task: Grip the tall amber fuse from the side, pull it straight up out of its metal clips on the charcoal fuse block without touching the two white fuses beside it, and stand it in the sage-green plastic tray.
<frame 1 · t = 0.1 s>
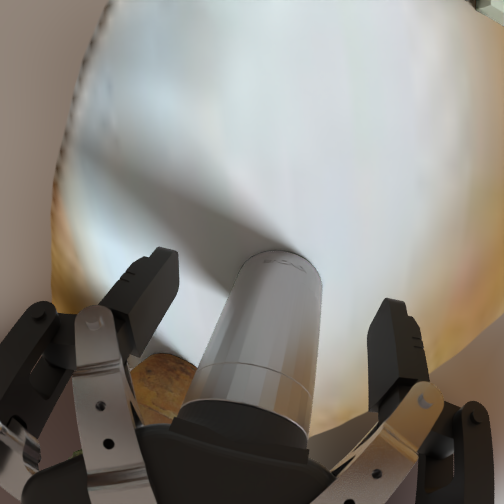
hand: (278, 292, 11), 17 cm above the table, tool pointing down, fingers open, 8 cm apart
potted plant: (177, 374, 48), on the table
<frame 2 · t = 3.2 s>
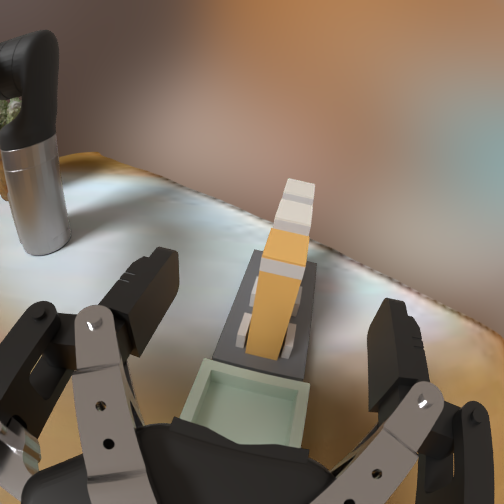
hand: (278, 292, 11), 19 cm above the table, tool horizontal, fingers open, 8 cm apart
fuse block: (271, 314, 36), on the table
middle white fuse: (274, 302, 35), point 2 cm above the table, touching fuse block
potted plant: (22, 191, 56), on the table
end white fuse: (282, 271, 40), point 2 cm above the table, touching fuse block
tray: (240, 430, 24), on the table
amber fuse: (264, 341, 30), point 2 cm above the table, touching fuse block
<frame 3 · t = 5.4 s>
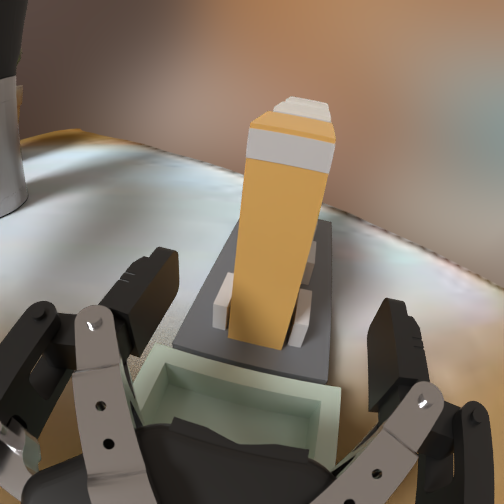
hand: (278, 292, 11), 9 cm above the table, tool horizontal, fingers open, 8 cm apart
fuse block: (271, 285, 25), on the table
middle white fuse: (275, 265, 24), point 2 cm above the table, touching fuse block
tray: (218, 471, 12), on the table
amber fuse: (261, 320, 19), point 2 cm above the table, touching fuse block
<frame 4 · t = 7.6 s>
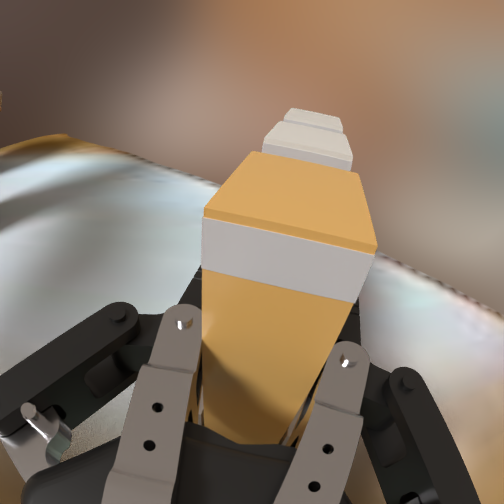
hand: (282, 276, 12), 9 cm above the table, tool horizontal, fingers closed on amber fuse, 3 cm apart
fuse block: (264, 350, 20), on the table
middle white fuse: (268, 331, 19), point 2 cm above the table, touching fuse block
end white fuse: (282, 273, 24), point 2 cm above the table, touching fuse block
amber fuse: (247, 414, 14), point 2 cm above the table, touching fuse block, gripper
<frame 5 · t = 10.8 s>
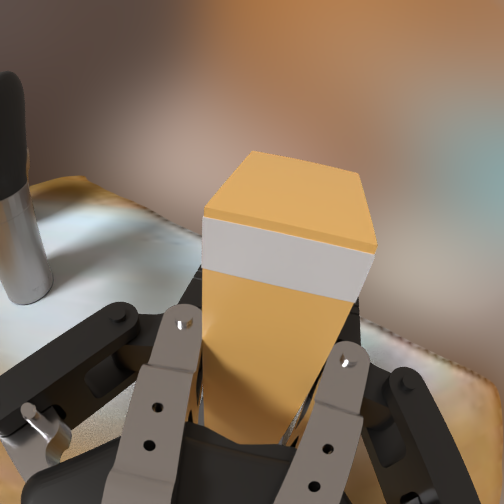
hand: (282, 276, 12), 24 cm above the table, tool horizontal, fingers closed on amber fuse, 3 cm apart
amber fuse: (247, 414, 14), point 17 cm above the table, touching gripper
when the fingers open (10 cm above the table, at t = 14.0 s): amber fuse drops 3 cm, resting on tray.
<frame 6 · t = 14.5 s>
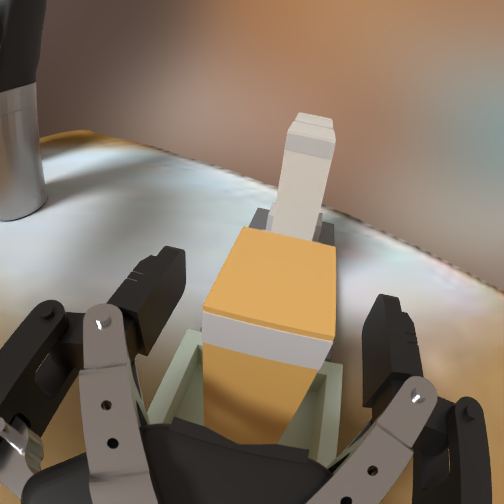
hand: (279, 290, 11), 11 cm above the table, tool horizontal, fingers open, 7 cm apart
fuse block: (281, 280, 28), on the table
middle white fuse: (285, 263, 27), point 2 cm above the table, touching fuse block
end white fuse: (292, 230, 32), point 2 cm above the table, touching fuse block
tray: (241, 437, 16), on the table
amber fuse: (242, 431, 15), point 1 cm above the table, touching tray
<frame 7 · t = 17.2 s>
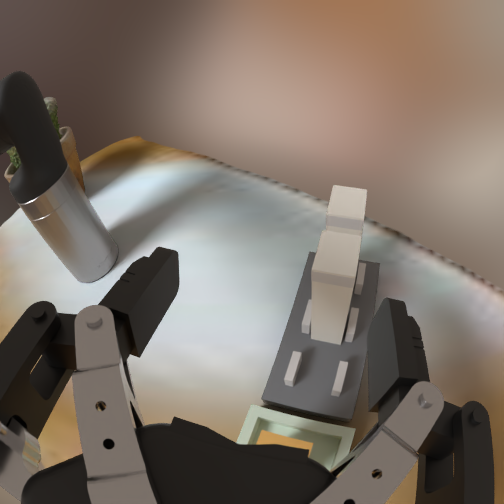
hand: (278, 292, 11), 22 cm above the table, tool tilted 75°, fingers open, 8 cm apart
fuse block: (328, 333, 33), on the table
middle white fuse: (329, 325, 31), point 2 cm above the table, touching fuse block
potted plant: (66, 202, 62), on the table
end white fuse: (340, 280, 35), point 2 cm above the table, touching fuse block
tray: (287, 466, 24), on the table
amber fuse: (286, 466, 23), point 1 cm above the table, touching tray
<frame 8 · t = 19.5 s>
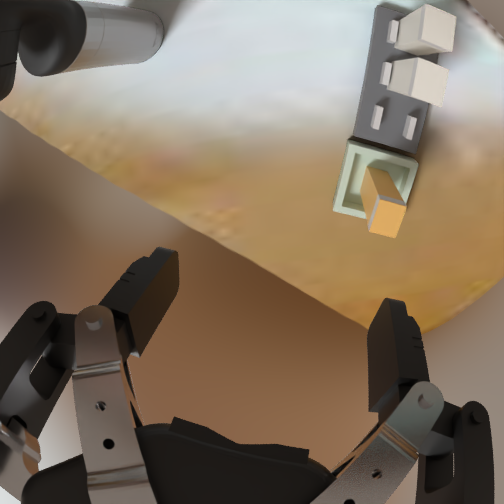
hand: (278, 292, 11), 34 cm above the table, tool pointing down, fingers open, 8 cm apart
fuse block: (397, 78, 32), on the table
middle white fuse: (400, 78, 30), point 2 cm above the table, touching fuse block
end white fuse: (407, 38, 27), point 2 cm above the table, touching fuse block
tray: (373, 180, 41), on the table
amber fuse: (373, 181, 40), point 1 cm above the table, touching tray
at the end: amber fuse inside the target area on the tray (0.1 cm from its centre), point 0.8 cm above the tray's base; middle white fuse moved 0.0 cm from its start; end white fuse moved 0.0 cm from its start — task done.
